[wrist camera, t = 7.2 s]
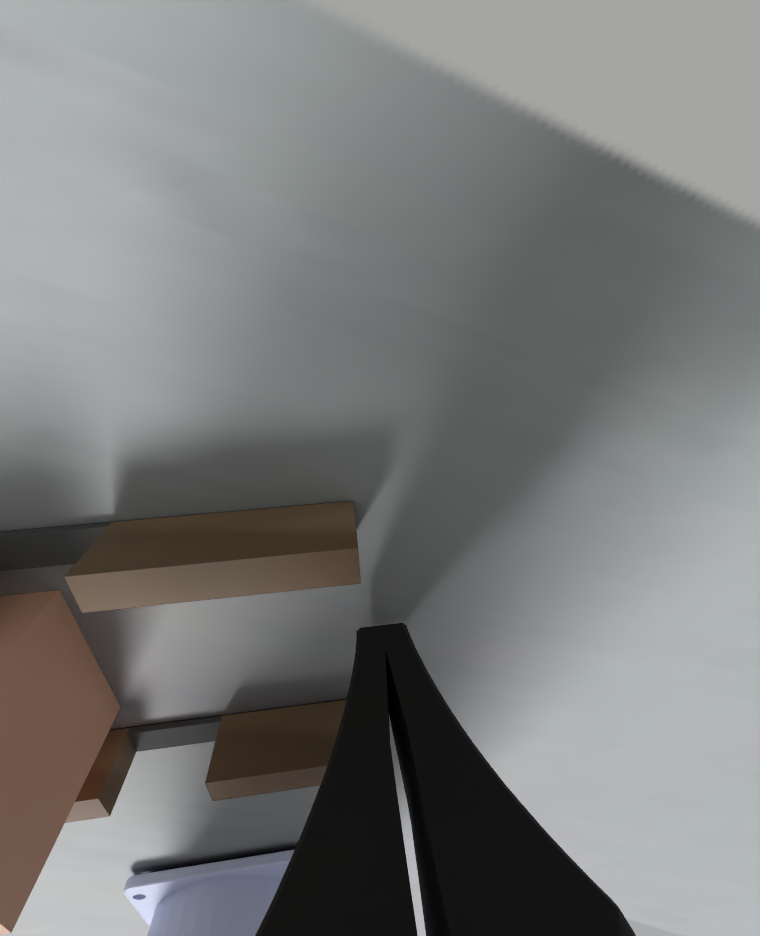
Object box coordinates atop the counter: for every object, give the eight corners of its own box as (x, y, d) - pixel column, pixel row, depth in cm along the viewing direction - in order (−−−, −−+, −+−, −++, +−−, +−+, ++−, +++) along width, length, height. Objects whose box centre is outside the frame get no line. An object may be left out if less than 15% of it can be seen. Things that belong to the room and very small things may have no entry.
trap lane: (369, 714, 14) (378, 815, 12) (-51, 770, 13) (-148, 898, 10) (353, 500, 10) (360, 579, 8) (-252, 553, 9) (-492, 669, 6)
